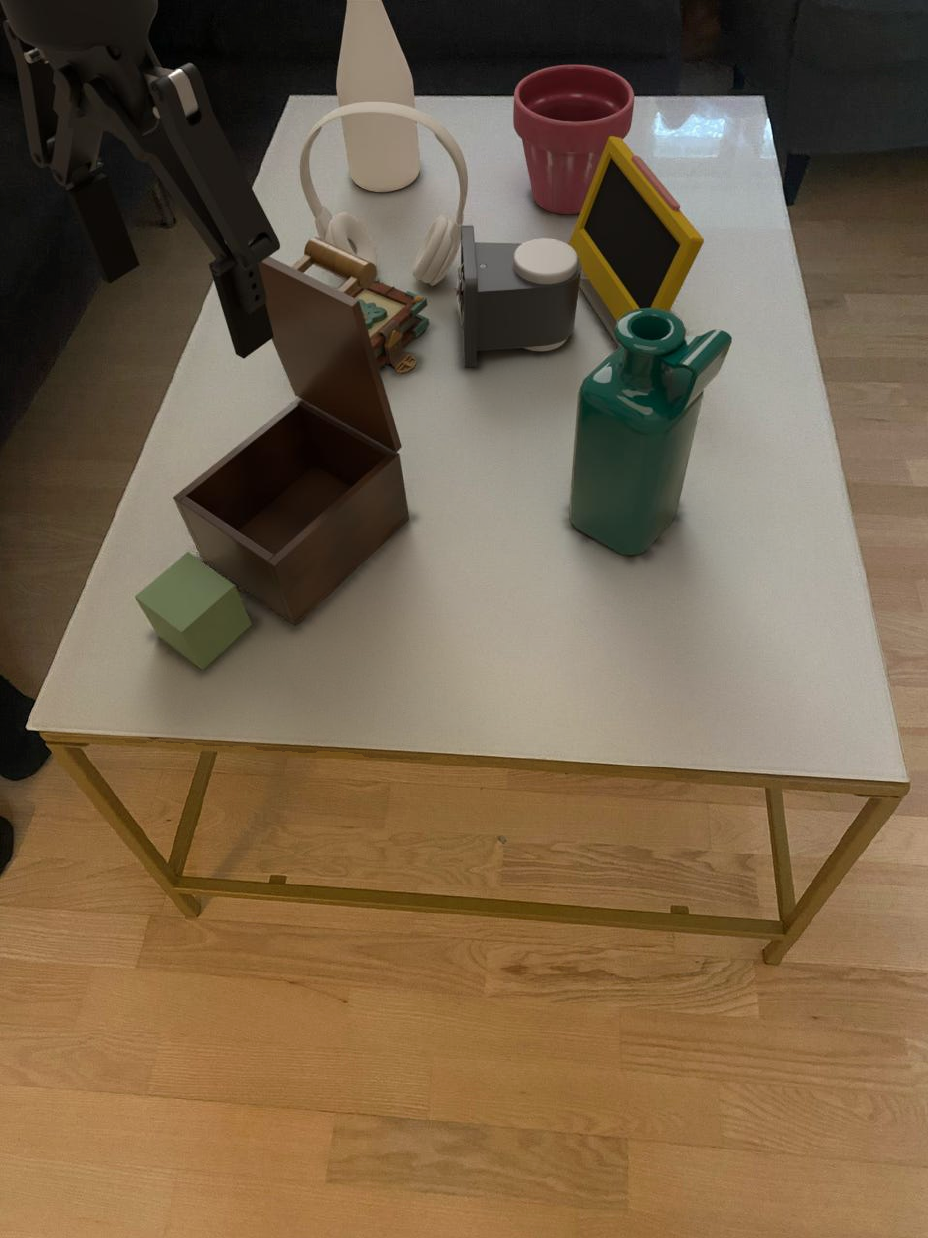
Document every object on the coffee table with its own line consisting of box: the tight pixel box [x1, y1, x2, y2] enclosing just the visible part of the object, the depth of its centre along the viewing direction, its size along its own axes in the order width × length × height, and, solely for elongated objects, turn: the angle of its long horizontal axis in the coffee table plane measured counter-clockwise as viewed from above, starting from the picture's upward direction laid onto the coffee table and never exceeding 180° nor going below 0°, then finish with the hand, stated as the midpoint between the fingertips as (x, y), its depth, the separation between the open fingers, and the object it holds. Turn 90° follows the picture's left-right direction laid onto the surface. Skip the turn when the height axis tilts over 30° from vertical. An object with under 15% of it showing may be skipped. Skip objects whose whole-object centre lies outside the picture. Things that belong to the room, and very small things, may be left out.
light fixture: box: [454, 225, 582, 367], centre depth 97 cm, size 11×13×11 cm
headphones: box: [299, 102, 469, 287], centre depth 100 cm, size 7×18×20 cm, turn 82°
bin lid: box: [258, 236, 403, 453], centre depth 75 cm, size 16×13×6 cm
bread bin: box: [172, 397, 410, 626], centre depth 82 cm, size 16×13×9 cm
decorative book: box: [350, 277, 430, 374], centre depth 98 cm, size 13×18×5 cm
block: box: [134, 551, 253, 671], centre depth 78 cm, size 6×6×6 cm
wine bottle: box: [335, 0, 421, 193], centre depth 109 cm, size 10×10×30 cm
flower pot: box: [512, 64, 635, 215], centre depth 111 cm, size 14×14×13 cm
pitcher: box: [568, 307, 733, 556], centre depth 76 cm, size 10×8×22 cm
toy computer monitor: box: [567, 136, 705, 348], centre depth 96 cm, size 20×8×16 cm, turn 18°
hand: (185, 308), depth 61 cm, fingers open, 13 cm apart
